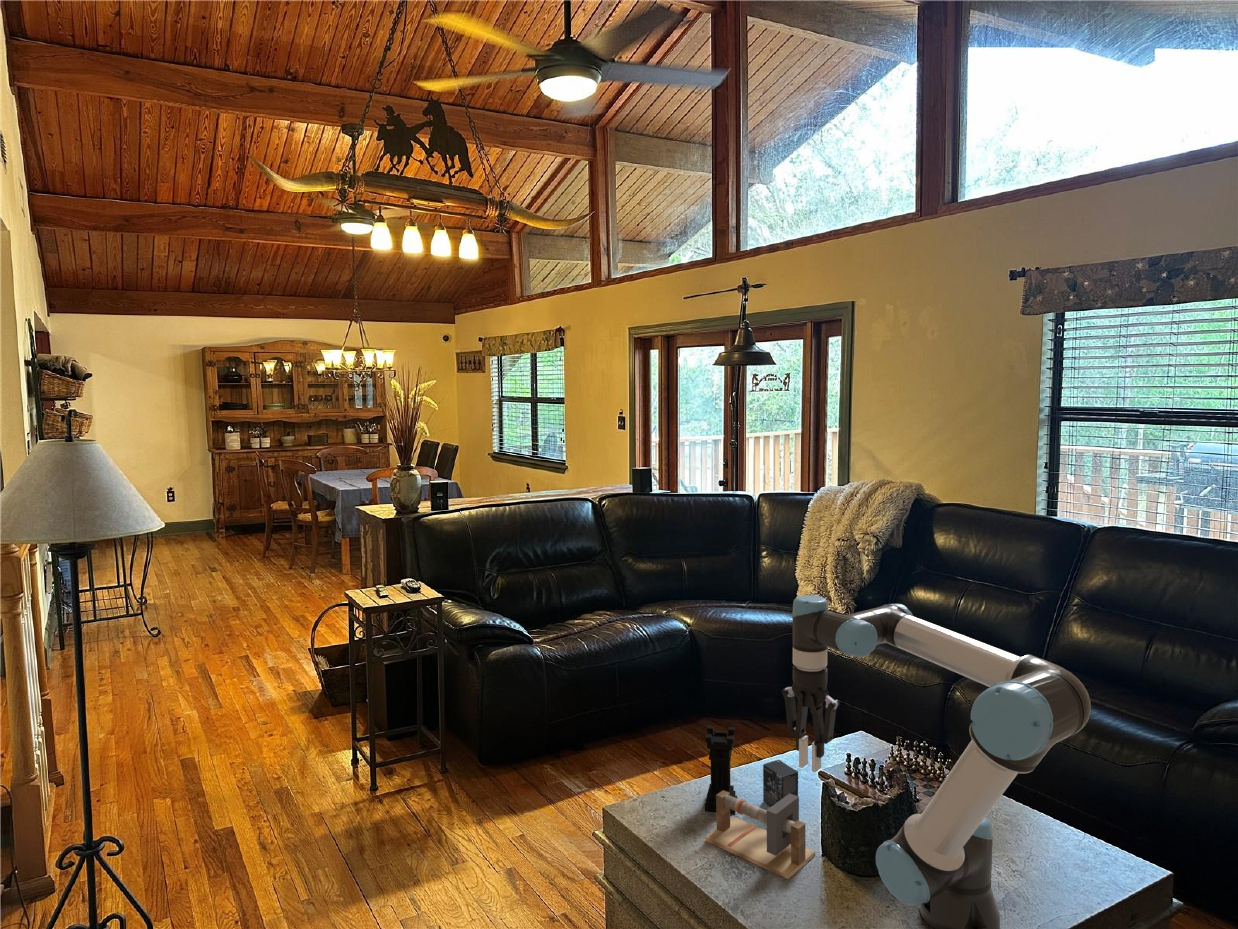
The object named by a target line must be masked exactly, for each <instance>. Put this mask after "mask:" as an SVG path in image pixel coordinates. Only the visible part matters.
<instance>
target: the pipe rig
mask: <svg viewBox="0 0 1238 929" xmlns="http://www.w3.org/2000/svg"><path fill="white" fill-rule="evenodd" d="M730 809H732V810H734V811H736V813H737V814H739V815H742V816H743V815H744V816H747V817H748V818H751V819H754V820H756V821H758V822H760V823H764V824H766V825H767V810H768V809H765V808H761V807H759V806H756V805H755V804H751V803H750V802H748V801H747V800H744V799H742V798H741V799H739V798H738V797H737V798H735V797H732V796H730V793H729V792H726V791H724V790H723V791H721V792H720V793H718V794H717V795H716V813H715V815H716V818H715V819H716V829H714V831H712V832H711V833H709V834H708V835H706V836H705V841H706V842H707V843H709V844H711V845H714V846H716V847H717V848H720V849H722V850H724V851H727V852H729V853H730V854H732V855H735V856H738V857H740V858H741V859H744V860H746V861H748V862H750V863H752V864H754V865H757V866H759V867H761V868H763V869H765V870H768V871H769V872H772V873H774V874H776V875H778V876H780V877H781V878H784V879H786V880H789V879H790V878H791V877H793V876H794V875H795V874H796V873H797V872H799V871H800V870H801V869H802V868H804V866H805V865H806V864H808V863H809V862H808V861H809V860H810V859H811V860H812V859H813V858H814V857H815V856H816V851H815V850H812V849H810V848H808V847H807V846H806V823H805V822H803V821H800V820H799V821H798V820H797V821H796V822H794V821H791V820H789V819H784V820H783V831H784V832H787V833H789V834H791V844H790V845H789V846H788V847H787V848H785V849H784V850H783V851H782V852H780V853H779V854H778V855H777V856H775V855H773V854H771V853H768V852H767V829H764V828H761V827H759V826H756V825H754V824H752V823H749V822H747V821H745V820H742V819H739V818H737V817H735V816H733V817H732V818H731V814H730ZM814 855H815V856H814ZM813 856H814V857H813ZM812 857H813V858H812ZM811 860H810V861H811Z"/></svg>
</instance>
